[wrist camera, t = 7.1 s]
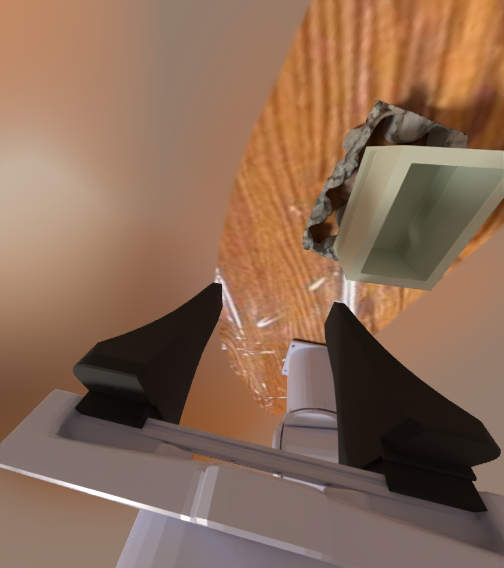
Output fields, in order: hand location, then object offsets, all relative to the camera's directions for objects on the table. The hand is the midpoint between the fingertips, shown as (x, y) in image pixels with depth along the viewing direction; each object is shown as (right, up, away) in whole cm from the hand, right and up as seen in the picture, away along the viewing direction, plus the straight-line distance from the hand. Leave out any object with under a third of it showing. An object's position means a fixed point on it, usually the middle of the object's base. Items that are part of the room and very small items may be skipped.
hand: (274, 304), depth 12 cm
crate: (+8, +7, +2) cm, 11 cm away
